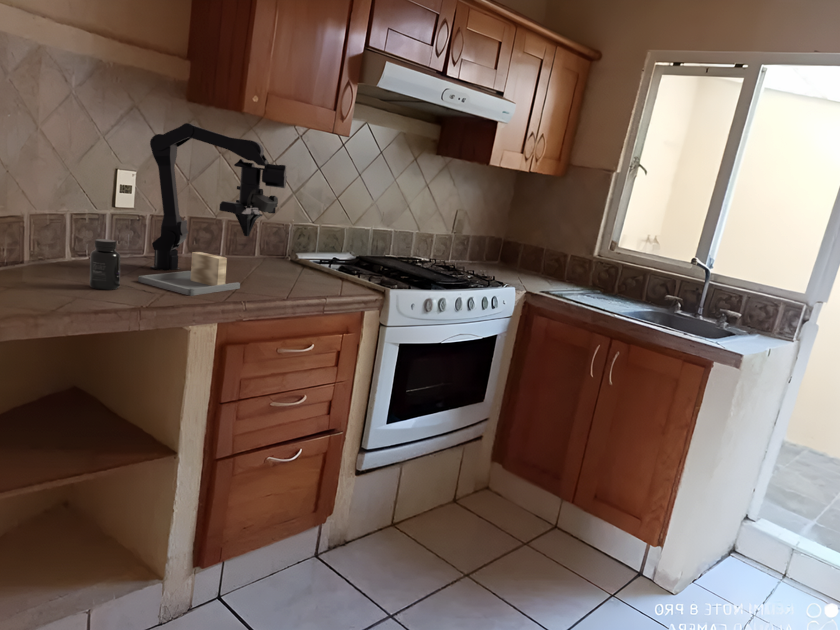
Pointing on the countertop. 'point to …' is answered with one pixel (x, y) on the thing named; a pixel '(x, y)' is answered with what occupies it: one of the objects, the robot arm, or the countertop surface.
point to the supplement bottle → (105, 265)
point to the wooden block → (208, 268)
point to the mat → (184, 283)
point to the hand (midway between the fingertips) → (246, 236)
